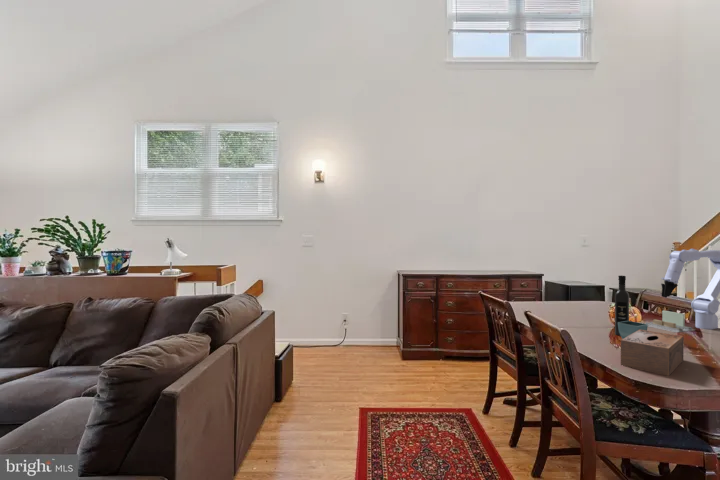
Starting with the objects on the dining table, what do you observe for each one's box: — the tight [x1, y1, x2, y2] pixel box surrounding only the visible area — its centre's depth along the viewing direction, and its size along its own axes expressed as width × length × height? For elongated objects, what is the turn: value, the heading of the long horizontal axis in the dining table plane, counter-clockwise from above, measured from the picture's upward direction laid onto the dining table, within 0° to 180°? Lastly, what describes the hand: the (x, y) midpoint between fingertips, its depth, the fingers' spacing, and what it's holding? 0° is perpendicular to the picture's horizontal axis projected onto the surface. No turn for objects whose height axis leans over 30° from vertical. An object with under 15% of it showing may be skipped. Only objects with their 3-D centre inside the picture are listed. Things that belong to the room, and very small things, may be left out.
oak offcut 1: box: [652, 319, 664, 326], centre depth 198 cm, size 2×4×4 cm, turn 18°
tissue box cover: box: [620, 329, 685, 377], centre depth 145 cm, size 26×14×10 cm, turn 130°
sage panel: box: [661, 310, 686, 327], centre depth 197 cm, size 1×10×8 cm, turn 17°
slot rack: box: [645, 321, 694, 333], centre depth 196 cm, size 15×16×2 cm
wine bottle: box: [614, 275, 630, 336], centre depth 186 cm, size 6×6×30 cm
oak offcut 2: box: [664, 322, 676, 328], centre depth 193 cm, size 2×4×4 cm, turn 18°
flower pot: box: [618, 320, 648, 340], centre depth 173 cm, size 9×9×9 cm
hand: (665, 296), depth 194 cm, fingers open, 7 cm apart
